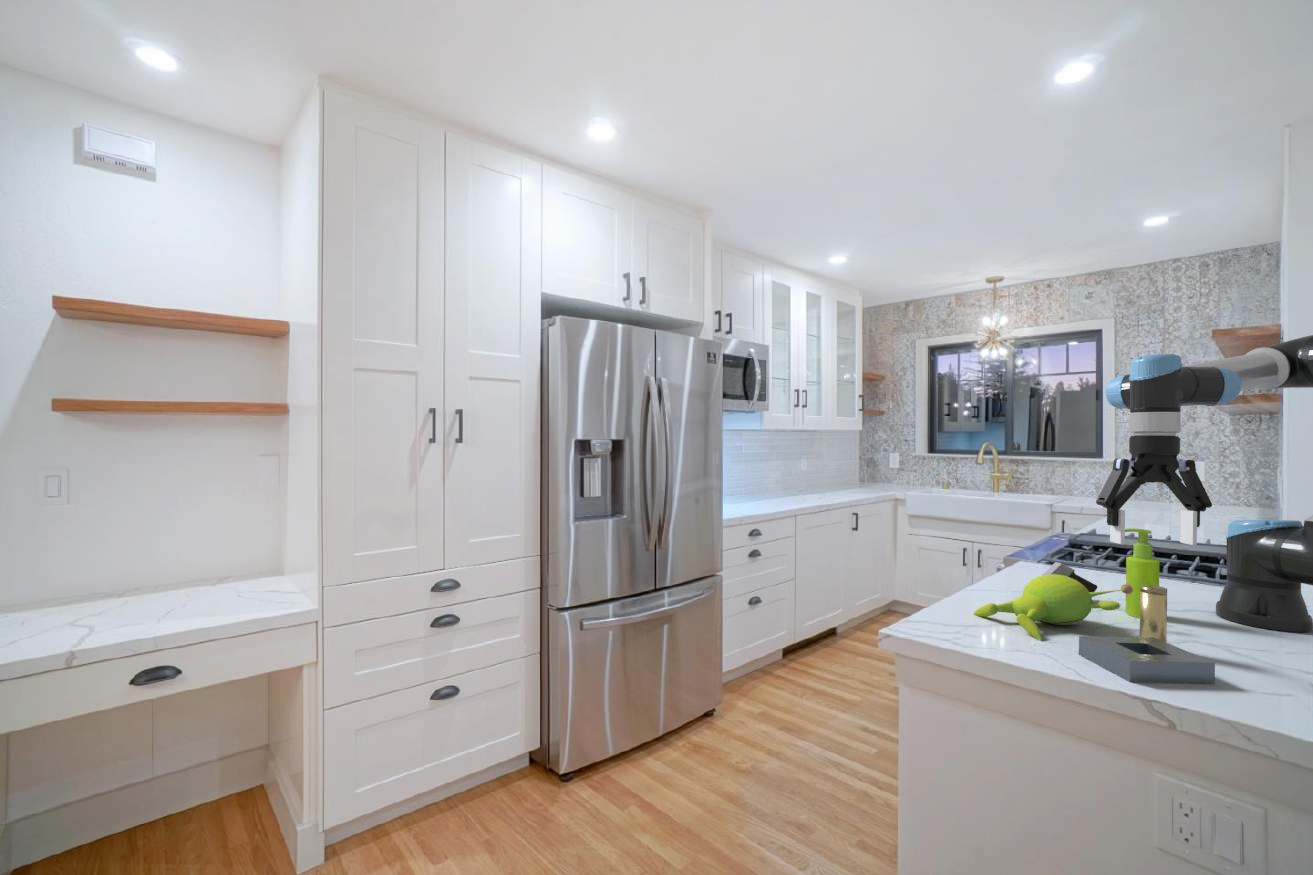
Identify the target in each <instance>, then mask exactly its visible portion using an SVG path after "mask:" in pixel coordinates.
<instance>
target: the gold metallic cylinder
mask: <svg viewBox="0 0 1313 875" xmlns="http://www.w3.org/2000/svg"><path fill="white" fill-rule="evenodd" d="M1167 625H1168V588H1166V587H1164V586H1160V585H1159V586H1154V585H1140V618H1139V636H1138V637H1146V638H1157V639H1159V640H1161V641H1164V642H1166V643H1168V642H1167V640H1168V639H1167V638H1168V637H1167V635H1168V632H1167V630H1168V629H1167V628H1168V626H1167Z"/></svg>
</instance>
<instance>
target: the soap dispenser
mask: <svg viewBox="0 0 1313 875" xmlns="http://www.w3.org/2000/svg"><path fill="white" fill-rule="evenodd" d="M1131 532H1132V533H1138V535H1137V536H1138V537H1137V540H1138V541H1136V542H1134V543H1133V549H1132V550H1133V552H1132V553H1133V555H1132V556H1126V558H1125V559H1126V562H1125V565H1126V566H1125V569H1126V570H1125V584H1128V585H1130V586H1131V587H1132V588H1133V592H1132V593H1130V594H1125V614H1126V613H1127V614H1129V615H1128V616H1130V615H1131V617H1133V616H1135V617H1134V618H1137V617H1138V619H1140V585H1154V586H1160V562H1161V561H1160V560H1158V559H1155V558H1153V544H1151V543H1150V542H1149V540H1148V539H1149V535H1152V530H1149V529H1143V528H1133V527H1128V528H1127V527H1126V528H1125V533H1131ZM1127 614H1126V615H1127Z"/></svg>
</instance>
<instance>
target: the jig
mask: <svg viewBox="0 0 1313 875" xmlns="http://www.w3.org/2000/svg"><path fill="white" fill-rule="evenodd" d="M1078 655H1079V656H1080V655H1081V656H1080V657H1083V658H1085V659H1086V660H1089V661H1090V662H1092V663H1093V662H1094V663H1093V664H1095V663H1096V664H1095V665H1097V664H1098V665H1097V666H1099V667H1101V666H1102V667H1101V668H1102V669H1105V670H1106V671H1109V672H1111V673H1112V674H1114V673H1115V674H1114V675H1116V674H1117V675H1116V676H1118V677H1120V678H1122V679H1124V680H1125V681H1127V682H1130V683H1160V682H1169V683H1171V684H1172V683H1173V684H1210V685H1211V684H1213V685H1215V683H1216V682H1215V681H1216V677H1215V676H1216V662H1214V661H1211V660H1210V659H1207V658H1204V657H1203V656H1199V655H1198V654H1194V653H1193V652H1190V651H1187V650H1185V649H1182V648H1180V647H1178V646H1175V645H1174V644H1171V643H1169V642H1167V643H1166V642H1164V641H1161V640H1159V639H1157V638H1146V637H1139V636H1138V637H1137V636H1090V635H1086V636H1085V635H1084V636H1083V635H1081V636H1080V635H1079V636H1078ZM1169 683H1168V684H1169Z"/></svg>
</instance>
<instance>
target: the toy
mask: <svg viewBox="0 0 1313 875" xmlns="http://www.w3.org/2000/svg"><path fill="white" fill-rule="evenodd" d="M1042 575H1043V574H1042ZM1042 575H1039V576H1037V577H1035V578H1033V579H1031V580H1030V581H1029V582H1027V583H1026V585H1025V586H1024V588H1023V590H1022V595H1020V596H1019V597H1017V598H1015V599H1013V600H1010V601H1006V602H1003V603H999V604H995V603H993V602H992V603H987V604H984V605H982V606H980V607H979V608H978V609H976V610H975V611H974V612H973V615H974V616H977V617H982V618H983V617H984V618H985V617H992V616H994V615H996V614H997V613H1005V614H1006V613H1008V614H1014V615H1015V616H1016V618H1015V619H1016V622H1017V623H1018V625H1019V626H1020V627H1022V628H1023V629H1024V630H1025V632H1027V633H1028V634H1029V635H1030V636H1032V637H1033V638H1034V639H1036V640H1037V641H1040V642H1042V633H1041V631H1040V628H1039V626H1038V625H1037V624H1036V623H1035V622H1039V621H1042V622H1044V623H1046V624H1047V623H1048V624H1050V625H1054V626H1069V625H1075V624H1077V623H1080V622H1082V621H1083V620H1085V619H1086V618H1087V617H1088V616H1089V614H1091V611H1092V609H1102V610H1104V611H1115V610H1117V609H1119V608H1120V606H1121V605H1120V603H1119V602H1118V601H1114V600H1098V601H1097V603H1095V604H1094V603H1093V597H1096V596H1100V595H1104V594H1109V593H1115V592H1122V593H1124V594H1125V595H1126V594H1130V593H1132V592H1133V588H1132V587H1131V586H1130V585H1128V584H1126V583H1125V584H1122V585H1121V587H1120V589H1115V590H1105V591H1104V590H1103V591H1095V592H1089V591H1088V590H1087V589H1086V587H1085V586H1084V585H1082V584H1081V583H1080V582H1078V581H1077V580H1075V579H1072V578H1070V577H1067V576H1063V575H1057V574H1049V575H1043V576H1042Z"/></svg>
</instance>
